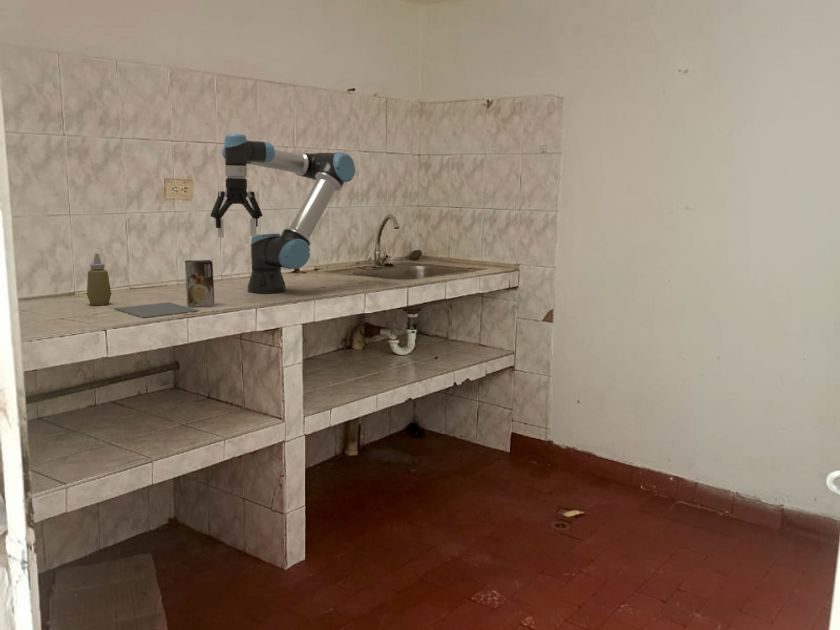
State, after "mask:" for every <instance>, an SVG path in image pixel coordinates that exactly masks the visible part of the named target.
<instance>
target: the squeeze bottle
mask: <svg viewBox="0 0 840 630" xmlns="http://www.w3.org/2000/svg"><path fill="white" fill-rule="evenodd" d="M89 265H90V270H88V271H87V285H86V296H87V299H88V301H89V304H90V305H91V306H105V305H106V306H107V305H109V304H110V300H111V296H112V290H111V285H110V284H111V283H110V278H109V272H108V270H106V269H105V268H106V266H105V263H102V261H101V258H100V254H99V253H94V258H93V263H91V264H89Z"/></svg>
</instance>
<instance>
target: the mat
mask: <svg viewBox="0 0 840 630" xmlns="http://www.w3.org/2000/svg"><path fill="white" fill-rule="evenodd" d="M114 309H115V311H118V312H121V313H124V312H125V313H124V314H127V313H128V315H130V314H132V315H131V316H134V315H135V316H134V317H137V316H138V317H137V318H140V317H142V318H141V319H148V318H147V317H151V318H156V317H155V316H159V317H164V316H163V315H167V316H173V315H172V314H175V315H180V314H179V313H184V314H189V313H188V312H192V313H198V312H197V311H201V310H200V309H196V308H193V307H188V306H184V305H181V304H176V303H173V302H168V301H167V302H161V303H151V304H141V305H132V306H131V305H130V306H123V307H114V308H113V310H114Z"/></svg>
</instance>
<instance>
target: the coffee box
mask: <svg viewBox="0 0 840 630" xmlns="http://www.w3.org/2000/svg"><path fill="white" fill-rule="evenodd" d="M213 266H214V263H213V261H212V260H210V259H200V260H199V259H198V260H197V259H195V260H193V259H191V260H184V271H185V288H186V289H185V291H186V293H185V294H186V305H187V307H188V308H199V307H200V308H201V307H203V308H204V307H215V287H214V285H215V284H214V268H213Z"/></svg>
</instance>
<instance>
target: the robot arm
mask: <svg viewBox="0 0 840 630" xmlns="http://www.w3.org/2000/svg"><path fill="white" fill-rule="evenodd" d="M221 153H222V156H223V158H224V163H225V166H224V167H225V170H224V171H225V177H226V178H225V188H226V189H225V190H226V191H223V190H219V191H218V192H217V199H216V200H215V202H214V205H213V208H212V210H211V212H210V217H211V218H214V219H215V227H216V229H217V237H218V238H220V239H221V238H223V239H224V237H225V231H224V227H225V225H224V219H223V216H224V215H225V214H226V213H227V211H228V209H229V208H230V207H231V206H232V205H239V204H240V205H242V206H243V207H244V208H245V211H247V212H248V214H249V215H250V216H251V218H250V219H249V220H250V221H249V225H250V226H249V227H250V230H249V231H250V232H249V233H250V237H251V239H250V249H251V250H250V252H251V253H250V254H251V255H250V258H251V274H250V277H249V281H248V284H247V292H249V293H255V294H278V293H283V292H286V291H287V290H286V287H287V286H286V283H285V280H284V277H283V274H282V269H283V268H285V269H288V270H293V269H294V270H297V269H300V268H302V267H304V266H305V265H306V264H307V262H308V261H309V259H310V257H311V253H310V251H311V248H310V246H311V241H310V237H311V235H312V234H313V232H314V230H315V228H316V226H317V224H318V223H319V221H320V219H321V218H322V217H323V214H324V212H325V210H326V208H327V207H328V205H329V203H330V201H331V199H332V197H333V196H334V194H335V192H338V191H340V190H341V189H342V188H343V185H344V183H348V182H350V181H352V180H353V179H354V177H355V175H356V166H355V162H354V160H353V158H352V156H351V155H349V154H348V153H346V152H341V151H337V152H316V153H315V152H313V153H305V152H298V153H295V152H294V153H293V152H288V151H283V150H279V149H275V147H274V145H273V143H271V142H268V141H257V140H247V136H246V135H245V134H244V133H243V134H241V133H229V134H228V133H227V134H226V135H225V136H224V145H223V147H222V152H221ZM247 165H251V166H257V167H263V168H268V169H272V170H273V169H274V170H279V171H284V172H290V173H294V174H295V175H296V176H299V177H302V178H303V177H304V178H307V179H312V180H315V182H314V184H313V186H312V188H311V189H310V191H309V193H308V195H306V196H307V197H306V199H305V200H304V201H303V204H302V206H301V207H300V209H299V210H298V212H297V214H296V216H295V218H294V219H293V222H292V223H291V225H290V226H289V227H287V228H284V230H283V231H282V232H281V234H280V233H266V234H265V233H264V234H257V228H258V227H259V226H258V225H259V223H258V222H259V219H260V218H261V217H263V212H262V211H261V208H260V206H259V203H258V201H257V199H256V194H255V191H247V188H248V180H247V176H248V175H247V169H248V167H247ZM225 197H226V199H225ZM224 200H225V201H224ZM249 202H250V203H249Z"/></svg>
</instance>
